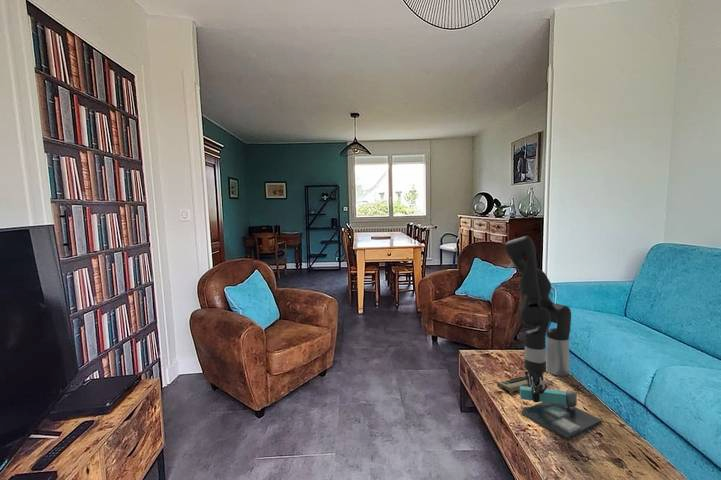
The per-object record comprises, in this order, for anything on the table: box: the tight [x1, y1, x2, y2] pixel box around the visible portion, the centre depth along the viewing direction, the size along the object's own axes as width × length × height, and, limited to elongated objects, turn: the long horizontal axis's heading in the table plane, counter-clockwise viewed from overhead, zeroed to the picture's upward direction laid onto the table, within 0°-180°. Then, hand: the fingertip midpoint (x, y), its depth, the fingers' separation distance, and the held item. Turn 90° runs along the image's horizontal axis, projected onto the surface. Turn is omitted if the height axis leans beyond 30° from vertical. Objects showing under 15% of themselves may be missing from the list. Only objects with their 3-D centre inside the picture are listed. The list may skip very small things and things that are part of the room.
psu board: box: [520, 402, 603, 442], centre depth 126 cm, size 20×18×3 cm
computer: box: [496, 375, 529, 395], centre depth 151 cm, size 16×8×3 cm, turn 110°
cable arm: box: [519, 386, 578, 407], centre depth 133 cm, size 20×4×4 cm, turn 71°
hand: (535, 401), depth 131 cm, fingers closed
